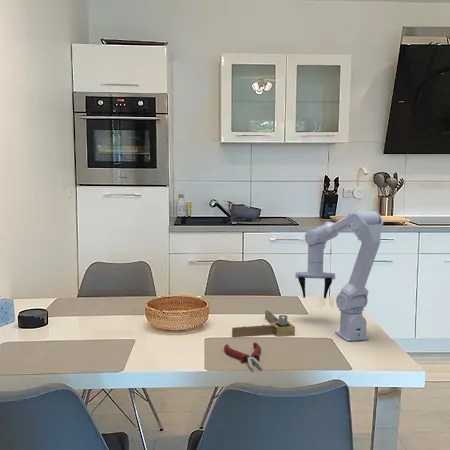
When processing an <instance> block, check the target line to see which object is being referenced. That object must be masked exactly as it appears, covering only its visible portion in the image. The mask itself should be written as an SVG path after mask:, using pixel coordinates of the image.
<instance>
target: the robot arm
mask: <svg viewBox="0 0 450 450" xmlns="http://www.w3.org/2000/svg"><path fill="white" fill-rule="evenodd" d="M383 225H384V220H383V218H382V215H381V214H380V212H378V211H376V210H370V211H353V212H351V213H348V214H347V215H345V216H344V217H343V218H341V219H339V220H337V221H336V222H332V221H325V222H324V224H322V225H321V226H316V228H315V229H308V230H306V232H305V234H304V240H305V242H306V245H307V271H296V272H295V276H294V277H295V279H298V283H299V285H300V287H301V291H302V296H303V297H302V298H304V299H305V298H306V279H317V280H318V279H319V280H321V279H322V280H324V287H323V288H324V290H323V299H327V295H328V291H329V289H330V287H331V285H332V283H333V280H336V273H334V272H324V252H325V248H326V244H327V242H328V241H330V240H332V239H334V238H337V237H338V235H339V232H342V231H344V230H347V229H349V228H350V229H351V230H352V232H353V233H354V235H355V236H356V238H357V239H358V240H359V241H360V242H361V245H360V248H359V251H358V253H357V257H356V259H355V263H354V265H353V268H352V270H351V271H352V272H351V274H350V277H349V279H348V280H349V281H348V283H346V285H344V286H343V287H342V288H341V290H340V292H339V293H338V294H337V296H336V299H335V304H336V307H337V308H338V310H339V311H340V320H339V321H340V322H339V323H340V327H339V330H336V331H335V332H334V333H336V334H337V335H338V336H339V337H341V338H342V339H344V340H345V341H346V342H354V341H367V340H369V338H368V337H367V323H368V322H367V320H366V318H365V316H363V312H364V310H365V309H364V308H366V307H367V305H368V302H369V300H368V296H369V293H370V292H369V290H368V288H366V286H367V285H366V284H367V282H368V279H369V276H370V273H371V271H372V268H373V265H374V262H375V258H376V256H377V253H378V251H379V247H380V244H381V233H382V228H383Z"/></svg>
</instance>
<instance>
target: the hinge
mask: <svg viewBox="0 0 450 450" xmlns="http://www.w3.org/2000/svg"><path fill="white" fill-rule="evenodd" d="M264 319H265V320H266V321H267V322H269V324H266V325H265V324H262V325H251V326H238V327H231V337H232V338H241V337H254V336H264V335H265V336H266V335H267V336H268V335H269V336H270V335H275V336H276V337H288V336H290V335H291V336H296V334H295V333H296V326H295V325H293V324H292V323H291V322H290V321H288V320H287V327H279V317H278V318H277V316H275V314H273V312H271V311H269V310H264Z"/></svg>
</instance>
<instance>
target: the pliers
mask: <svg viewBox="0 0 450 450" xmlns="http://www.w3.org/2000/svg"><path fill="white" fill-rule="evenodd" d="M253 347H254V348H253ZM252 348H253V349H254V350H253V352H252V353H251V355H249V354H247V353H244V352H241V351H239V350H236V349H233V348H231V347H230V345H229V344H228V343H227V344H225V345H224V347H223V350H224V352H225V354H226V355H227V356H229V357H231V358H234V359H236V360H238V361H240V364H244V362H245V363H247V366H248V368H249V369H250V370H251V371H252V372H253V371H254V367H255V366H256V367H255V368H257V369H259V370H263V368H262V367H263V366H262V365H261V364H260V355H261V352H262V348H261V346H260V345H259V343H257V342H253V343H252ZM258 361H259V362H258ZM253 365H254V367H253Z"/></svg>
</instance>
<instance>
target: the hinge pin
mask: <svg viewBox="0 0 450 450" xmlns="http://www.w3.org/2000/svg"><path fill="white" fill-rule="evenodd" d="M278 319H279V327H287V321H288V316H287V315H286V314H281V315H278Z"/></svg>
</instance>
